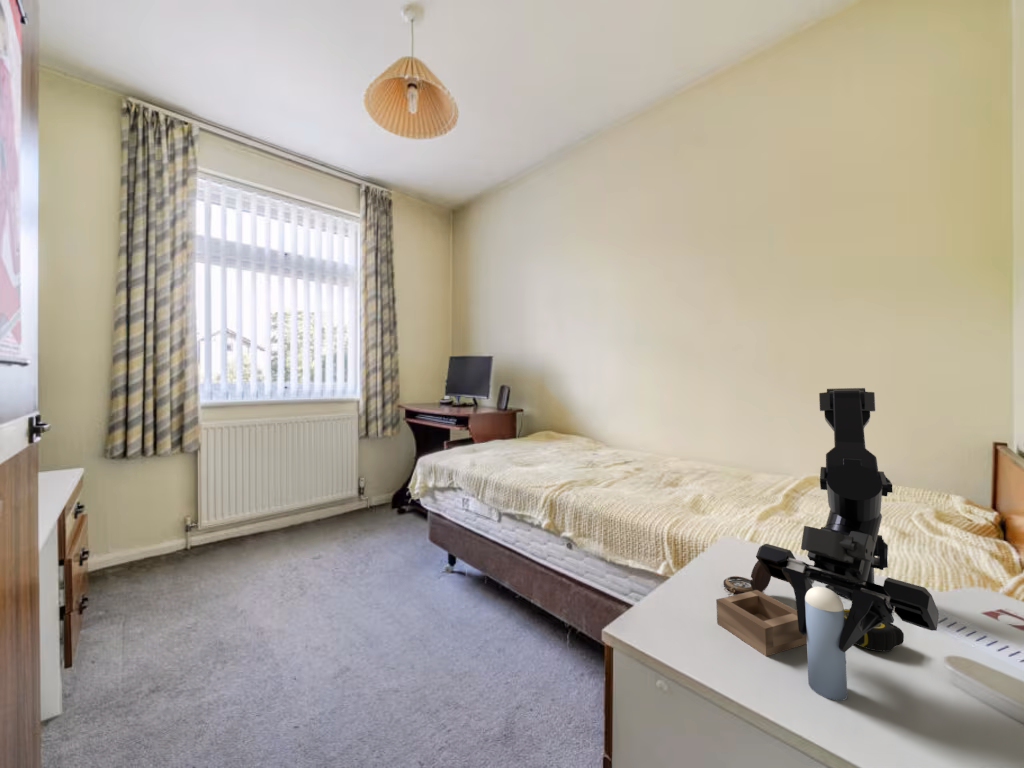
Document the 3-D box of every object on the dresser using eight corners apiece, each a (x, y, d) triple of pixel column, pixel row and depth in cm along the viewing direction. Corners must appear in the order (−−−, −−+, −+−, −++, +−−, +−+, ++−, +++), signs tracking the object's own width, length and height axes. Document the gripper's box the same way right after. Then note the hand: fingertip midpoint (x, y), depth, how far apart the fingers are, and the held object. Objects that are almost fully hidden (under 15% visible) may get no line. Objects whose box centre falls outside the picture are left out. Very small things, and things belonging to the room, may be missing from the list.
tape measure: (907, 651, 60) (906, 625, 60) (876, 661, 58) (875, 635, 58) (856, 626, 66) (855, 603, 67) (826, 634, 64) (825, 610, 64)
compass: (733, 579, 84) (732, 543, 84) (775, 594, 77) (773, 556, 77) (711, 589, 79) (709, 552, 80) (752, 607, 73) (751, 566, 73)
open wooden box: (757, 612, 71) (756, 589, 71) (809, 642, 62) (808, 616, 62) (717, 623, 68) (716, 599, 68) (766, 656, 59) (765, 628, 59)
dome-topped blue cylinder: (822, 675, 55) (818, 578, 55) (854, 695, 51) (850, 592, 52) (801, 682, 54) (797, 584, 54) (833, 704, 50) (828, 598, 50)
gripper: (759, 490, 63) (723, 581, 57) (928, 520, 48) (904, 650, 41) (784, 531, 67) (753, 619, 61) (947, 570, 52) (928, 695, 45)
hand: (820, 641), depth 52 cm, fingers closed on dome-topped blue cylinder, 4 cm apart
